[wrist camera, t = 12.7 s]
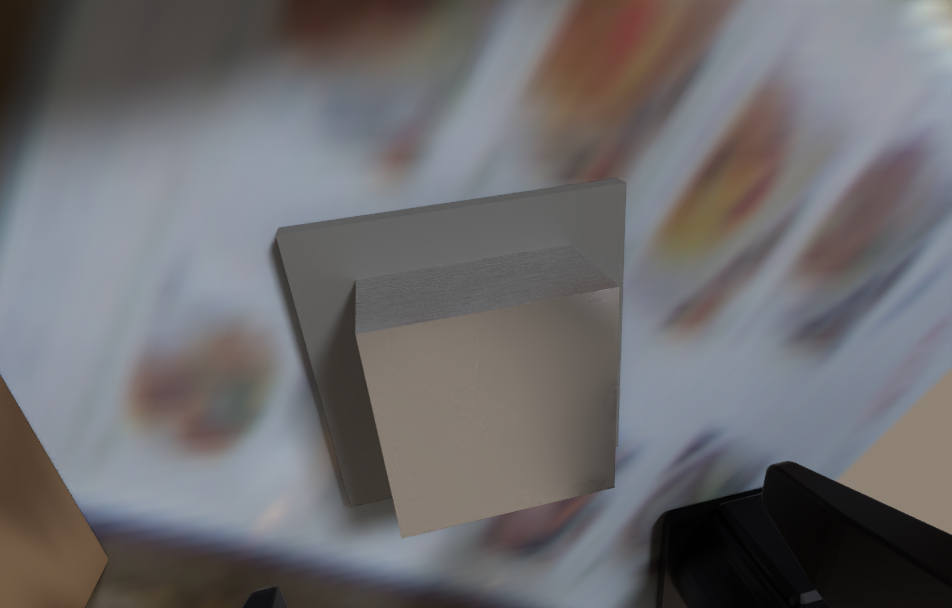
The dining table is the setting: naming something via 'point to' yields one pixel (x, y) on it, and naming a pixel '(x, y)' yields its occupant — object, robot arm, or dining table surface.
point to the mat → (413, 248)
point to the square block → (491, 383)
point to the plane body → (40, 524)
